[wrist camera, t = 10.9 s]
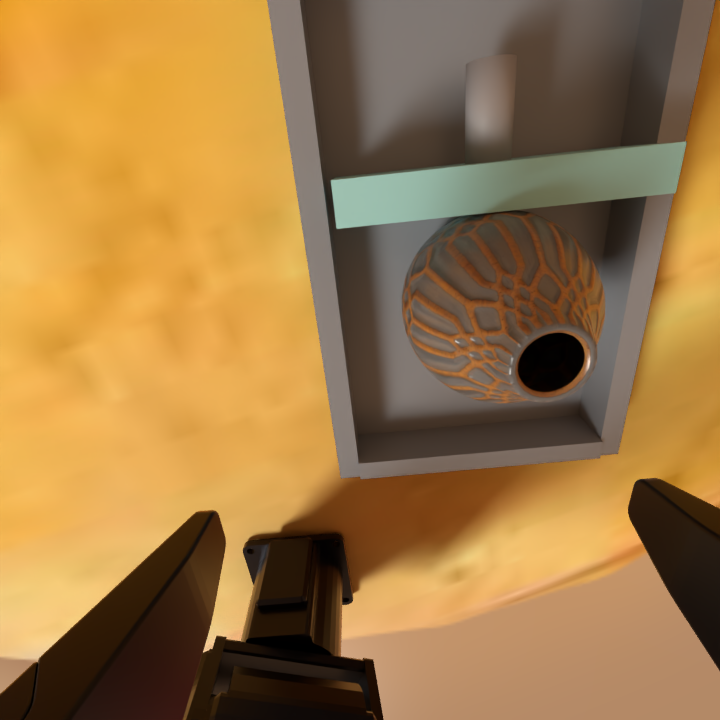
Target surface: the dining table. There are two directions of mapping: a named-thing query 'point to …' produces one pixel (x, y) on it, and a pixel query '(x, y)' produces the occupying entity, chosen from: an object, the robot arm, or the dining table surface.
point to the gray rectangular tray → (404, 239)
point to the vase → (505, 308)
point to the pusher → (503, 167)
